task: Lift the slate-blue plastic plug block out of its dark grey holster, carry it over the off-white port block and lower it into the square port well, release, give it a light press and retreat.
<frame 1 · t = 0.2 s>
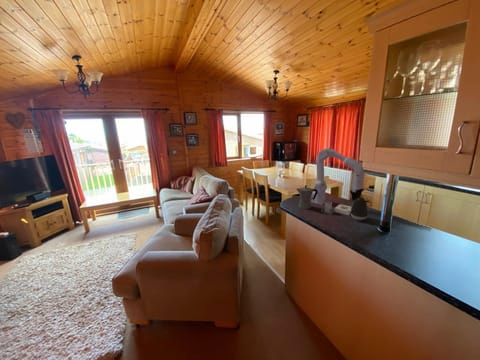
hand: (356, 199, 142), 10 cm above the counter, fingers open, 7 cm apart
plug: (327, 211, 146), point 1 cm above the counter, touching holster
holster: (327, 212, 146), on the counter
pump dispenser: (358, 218, 135), on the counter
coffeepot: (306, 207, 156), on the counter
port: (344, 211, 146), on the counter
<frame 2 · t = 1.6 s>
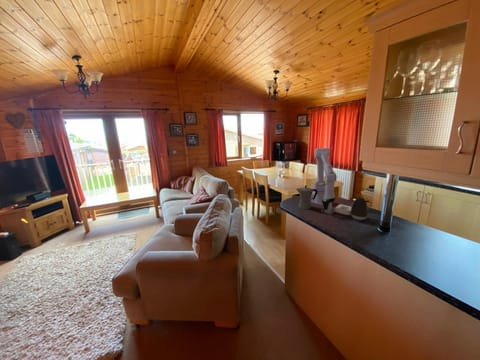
hand: (328, 207, 145), 4 cm above the counter, fingers open, 7 cm apart
nothing on the counter moved.
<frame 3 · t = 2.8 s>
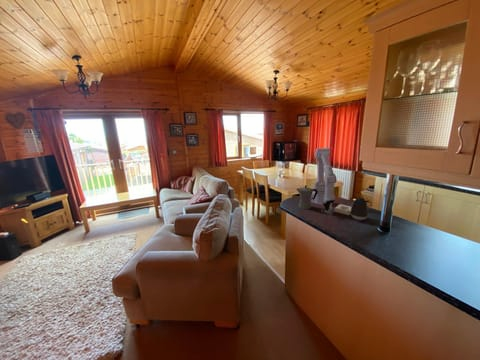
hand: (328, 209, 145), 2 cm above the counter, fingers closed on plug, 3 cm apart
plug: (327, 211, 146), point 1 cm above the counter, touching gripper, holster
everything else where it was.
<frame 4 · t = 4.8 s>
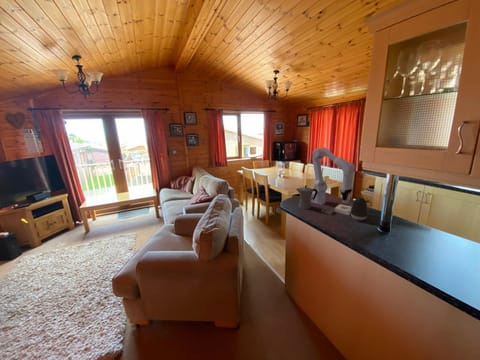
hand: (345, 199, 144), 10 cm above the counter, fingers closed on plug, 3 cm apart
plug: (345, 202, 144), point 7 cm above the counter, touching gripper
everything else where it was.
when the fingers open (3 cm above the counter, at t = 6.6 s): plug drops 1 cm, resting in port.
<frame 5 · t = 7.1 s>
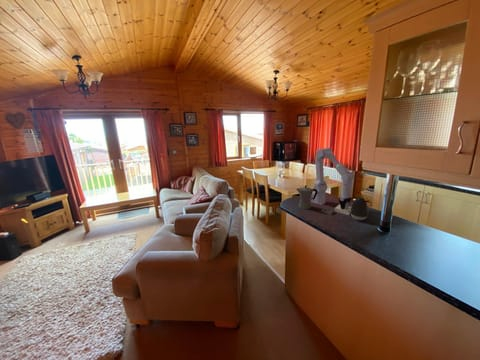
hand: (344, 207, 145), 3 cm above the counter, fingers open, 7 cm apart
plug: (344, 211, 146), resting in port
everything else where it was.
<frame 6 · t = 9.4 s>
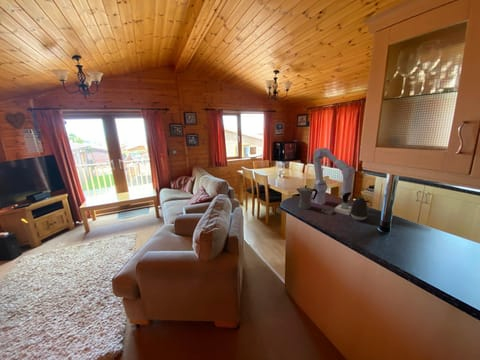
hand: (345, 202, 144), 7 cm above the counter, fingers closed, pressing on plug
plug: (344, 211, 146), resting in port, touching gripper
everything else where it was.
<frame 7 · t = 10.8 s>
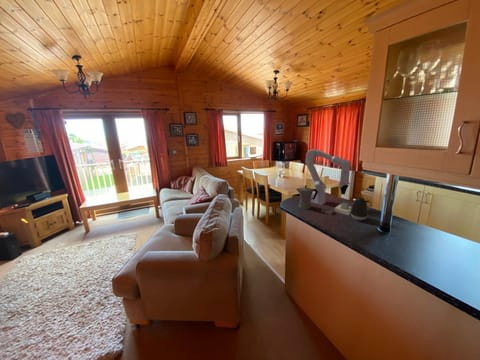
hand: (343, 194, 153), 10 cm above the counter, fingers closed
plug: (344, 211, 146), resting in port
everything else where it was.
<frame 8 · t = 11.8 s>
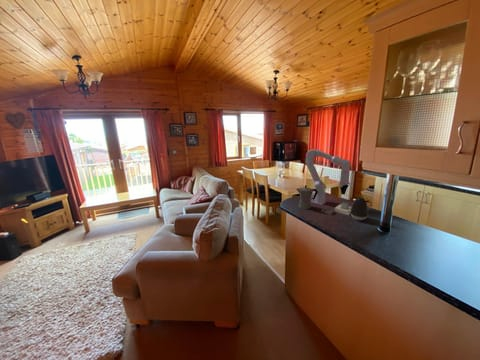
hand: (343, 194, 153), 10 cm above the counter, fingers closed
nothing on the counter moved.
at the end: plug 0.1 cm off-centre on the port, point 0.0 cm above the port's base; plug tilted 0°; the gripper is holding nothing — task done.
